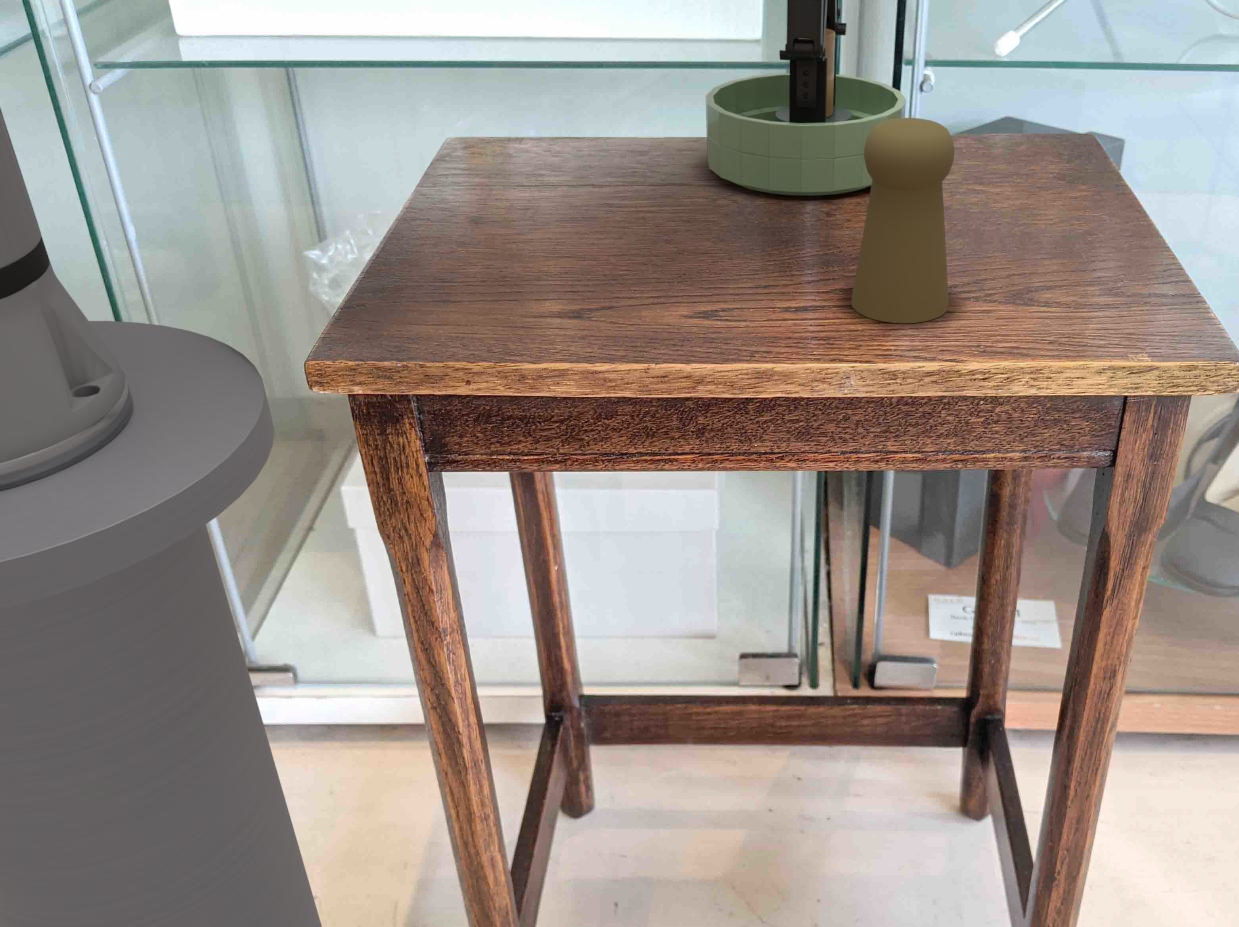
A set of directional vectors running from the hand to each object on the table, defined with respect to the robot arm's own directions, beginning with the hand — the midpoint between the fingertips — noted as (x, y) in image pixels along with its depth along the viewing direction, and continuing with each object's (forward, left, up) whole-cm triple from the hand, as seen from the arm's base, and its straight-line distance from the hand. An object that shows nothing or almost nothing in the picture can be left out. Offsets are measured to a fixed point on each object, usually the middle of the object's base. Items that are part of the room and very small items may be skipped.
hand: (812, 135), depth 102 cm
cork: (-15, -24, -3) cm, 28 cm away
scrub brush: (0, 0, -1) cm, 1 cm away
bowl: (-1, 0, -2) cm, 3 cm away
